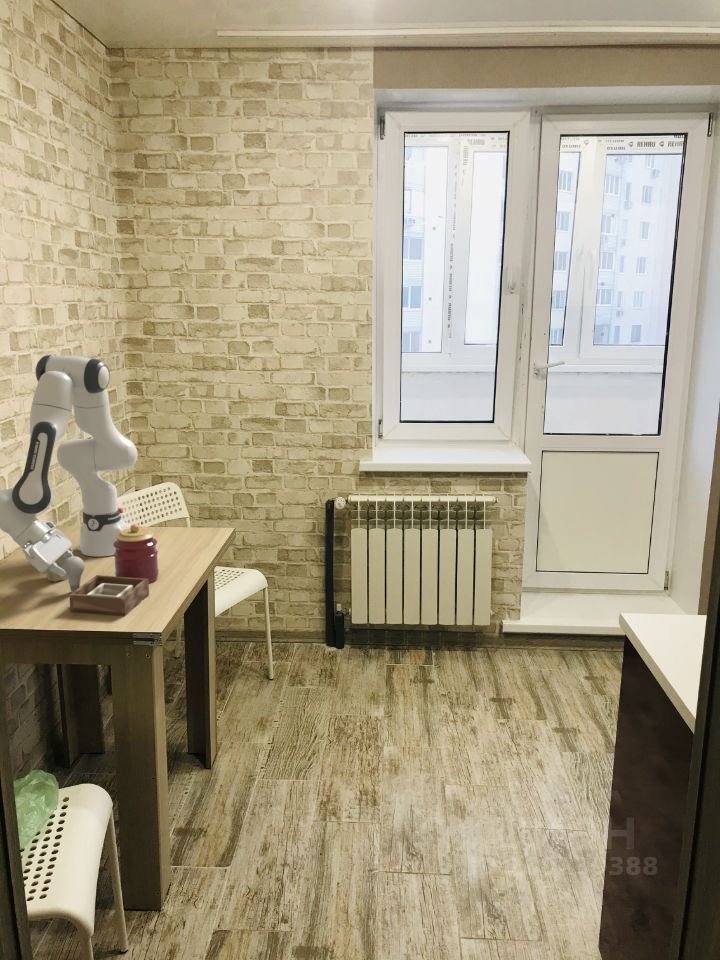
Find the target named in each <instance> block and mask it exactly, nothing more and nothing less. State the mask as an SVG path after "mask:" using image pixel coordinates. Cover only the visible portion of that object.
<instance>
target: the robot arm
mask: <svg viewBox="0 0 720 960" xmlns="http://www.w3.org/2000/svg"><path fill="white" fill-rule="evenodd" d="M110 374H111V373H110V369H109V367H108V366H107V364H106V363H105V362H104V361H102V360H100V359H97V358H89V357H85V356H79V355H56V354H47V355H44V356H41V358H40V359H39V360H38V361H37V364H36V366H35V377H36V380H37V385H36V388H35V391H34V394H33V396H32V401H31V402H32V403H31V408H30V416H29V436H30V437H29V446H28V451H27V456H26V462H25V464H24V465H25V466H24V470H23V473H22V475H21V477H20V478H19V480H18V481H17V482H16V483H15V485H14V486H13V487H9V488H6V489H0V530H1V531H2V532H4V533H6V534H8V535H9V536H10V537H11V539H12V541H14V542H15V543H16V544H18V546H19V547H20V548H21V549H22V552H23V554H24V557H25V559H27V561H28V562H29V563H30V564H31V565H32V566H33V567H34V568H35V569H36V570H37V571H38V572H41V573H45V572H46V570H47V569H49V570H50V571H52V572H54V573H57V574H58V575H60V576H61V577H63V576H64V575H65V574H66V573H67V571H66V570H65V569H64V568H63V569H62V568H60V567H59V566H57V564H56V563H55V562H56V561H57V560H58V559H59V558H60V557H61V556H63V557H65V558H69V557H72V556H74V553H73V552H71V551H70V550H69V549H70V548H71V549H72V547H73V543H72V541H71V540H70V539H69V538H68V537H67V536H66V534H65V533H63V532H62V530H61V531H60V530H59V529H58V528H56V525H55V524H54V522H52V521H41V520H40V519H39V518H38V517H37V515H38V514H40V513H42V512H44V511H46V510H47V509H49V508H50V507H51V505H52V504H53V501H54V497H55V493H54V490H53V487H52V486H51V485H50V484H49V471H50V468H51V463H52V457H53V452H54V449H55V448H56V445H57V443H58V442H59V441H60V439H61V438H62V437H63V436H65V434H66V432H67V429H68V428H69V427H68V426H69V424H70V420H71V418H72V417H71V416H72V413H73V414H74V421H75V425H76V426H77V427H78V428H79V430H80V431H82V432H84V433H87V434H89V436H91V437H92V438H74V439H73V438H72V439H67V440H64V441H62V442H61V443H60V444H59V446H58V448H57V450H56V459H57V463H58V464H59V466H60V467H61V469H63V470H65V471H66V472H68V474H70V475H71V476H72V477H73V478H74V479H75V481H76V482H77V484H78V486H79V488H80V492H81V497H82V505H83V511H82V523H83V524H82V525H81V526H80V528H79V529H80V530H79V532H80V533H79V534H80V535H79V538H80V539H79V545H76V546H77V547H76V550H77V551H79V552H80V553H81V554H82V555H84V556H88V557H109V556H110V557H111V556H114V553H115V550H116V548H115V547H114V545H113V544H114V542H115V541H117V539H116V535H117V534H119V533H120V532H121V531H123V530H125V529H130V527H131V525H130V524H129V523H127V522H126V521H124V520H123V519H122V515H121V514H123V513H124V507H119V506H118V504H119V503H118V490H117V487H116V486H115V485H114V484H113V483H112V482H110V481H108V480H105V479H103V478H102V477H101V476H100V474H99V472H119V471H124V470H130V469H132V468H134V466H135V465H136V462H137V460H138V455H139V454H138V449H137V446H136V445H135V444H134V442H133V441H131V440H130V439H128V438H127V437H125V436H124V435H123V434H122V433H121V432H119V430H118V429H117V427H116V426H115V424H114V422H113V421H114V420H113V419H112V413H111V408H110V407H111V406H110V399H109V394H108V389H107V388H108V386H109V383H110V377H111V375H110ZM72 411H73V412H72Z"/></svg>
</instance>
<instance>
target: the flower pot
mask: <svg viewBox="0 0 720 960" xmlns="http://www.w3.org/2000/svg"><path fill="white" fill-rule="evenodd" d="M69 550H70V551H71V552H72V553H73V552H74V551H73V549H72V547H71V548H70V549H69ZM66 559H67V558H65V557H63V556H61V557H60V558H59V559H58V560H57V561H56V562H55V563H56V564H57V566H59V567H60V568H62V569H63V563H64V561H65V560H66ZM45 572H46V577H47V580H48V581H49V582H59V581H66V580H68V578H67V576H66V575H64V576H63V577H61V576H60V575H58V574H57V573H54V572H52V571H50V570H49V569H47V570H46V571H45Z"/></svg>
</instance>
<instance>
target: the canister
mask: <svg viewBox="0 0 720 960" xmlns="http://www.w3.org/2000/svg"><path fill="white" fill-rule="evenodd" d="M154 536H155V533H154V532H153V531H151V530H149V528H146V527H140V526H139V525H138V524H136V523H134V524H133V523H132V524H131V525H130V529H125V530H123V531H121V532H120V533H119V534H117V535H116V539H117V541H115V542H114V544H113V545H114V547H115V548H116V550H115V553H114V555H113V557H114V566H115V567H114V568H115V571H114V576H115V577H129V578H144V579H148V582H149V584H151V583H153V582H156V580H158V578H159V574H160V573H159V572H160V570H159V566H158V565H159V563H158V561H159V560H158V553H159V551H158V549H157V547H156V546H157V544H158V540H157V539H156V538H155V537H154Z"/></svg>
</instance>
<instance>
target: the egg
mask: <svg viewBox="0 0 720 960" xmlns="http://www.w3.org/2000/svg"><path fill="white" fill-rule="evenodd" d="M85 566H86V565H85V562H84V560H83V559H82V558H81V557H79V556H75V555H73V556H72V557H69V558H67V559H66V560H65V561H64V563H63V568H64V569H65V570H66V571H67V573H66V574H65V575H66V576H67V578H68V579H67V581H68V584H69V587H70V591H71V593H73V592H74V591H75V590H77V589H78V588H80V587H81V585H80V584H81V579H82V575H83V573H84V571H85V568H86V567H85Z"/></svg>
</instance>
